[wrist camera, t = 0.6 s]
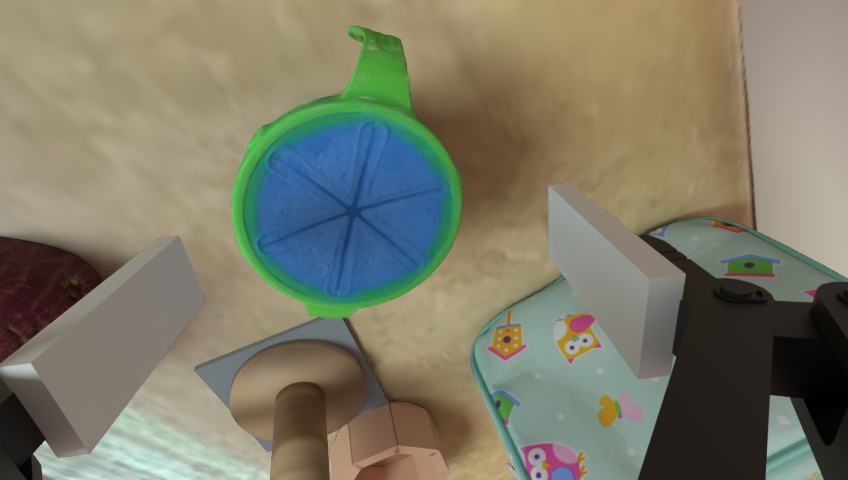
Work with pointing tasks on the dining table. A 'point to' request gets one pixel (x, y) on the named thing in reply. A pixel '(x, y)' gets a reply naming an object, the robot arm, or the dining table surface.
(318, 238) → the snack cup
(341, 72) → the dining table surface
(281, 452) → the paper towel holder
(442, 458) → the bowl
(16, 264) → the vegetable
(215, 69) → the dining table surface
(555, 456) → the lunch box
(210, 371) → the mat
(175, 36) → the dining table surface
